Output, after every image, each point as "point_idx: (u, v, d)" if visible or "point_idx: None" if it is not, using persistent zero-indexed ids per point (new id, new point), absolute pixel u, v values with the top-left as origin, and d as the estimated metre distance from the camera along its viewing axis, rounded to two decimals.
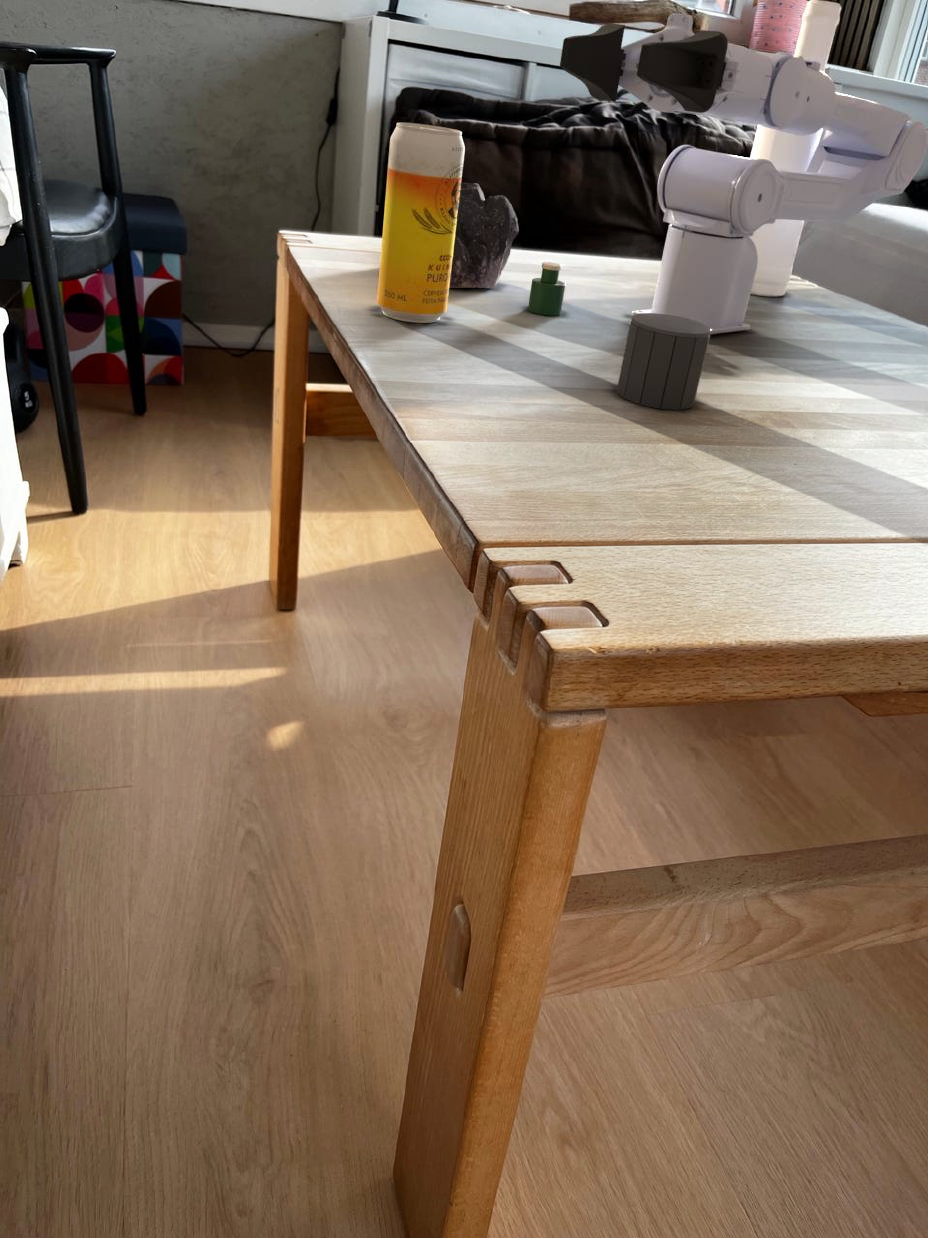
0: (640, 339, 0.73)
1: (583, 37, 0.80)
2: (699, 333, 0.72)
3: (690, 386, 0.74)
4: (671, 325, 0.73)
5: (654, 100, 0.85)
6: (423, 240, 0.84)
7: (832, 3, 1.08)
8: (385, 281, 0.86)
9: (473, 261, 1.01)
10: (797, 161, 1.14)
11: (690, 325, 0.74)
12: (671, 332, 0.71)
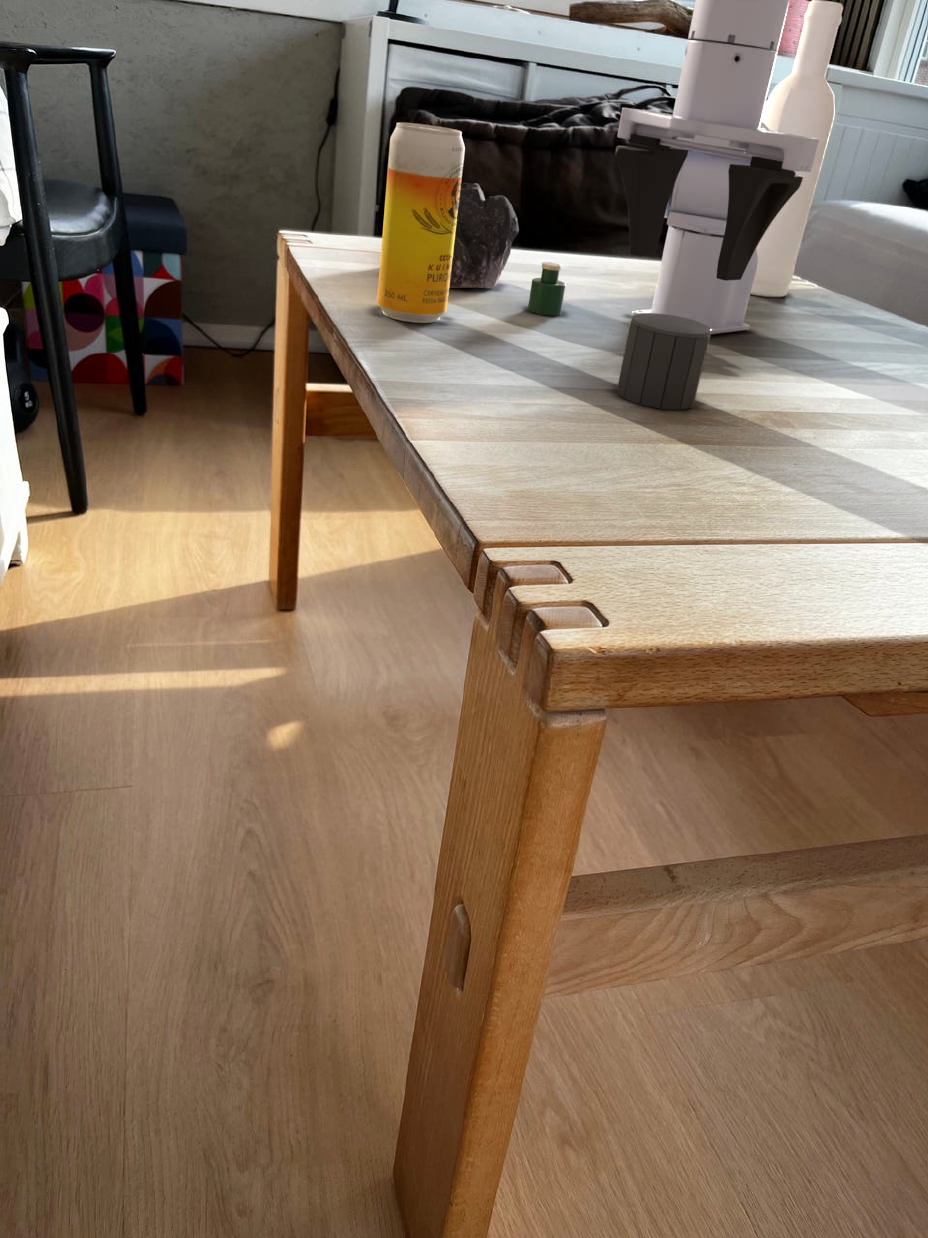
0: (640, 339, 0.73)
1: (638, 233, 0.72)
2: (699, 333, 0.72)
3: (690, 386, 0.74)
4: (671, 325, 0.73)
5: None
6: (423, 240, 0.84)
7: (834, 3, 1.08)
8: (385, 281, 0.86)
9: (473, 261, 1.01)
10: None
11: (690, 325, 0.74)
12: (671, 332, 0.71)
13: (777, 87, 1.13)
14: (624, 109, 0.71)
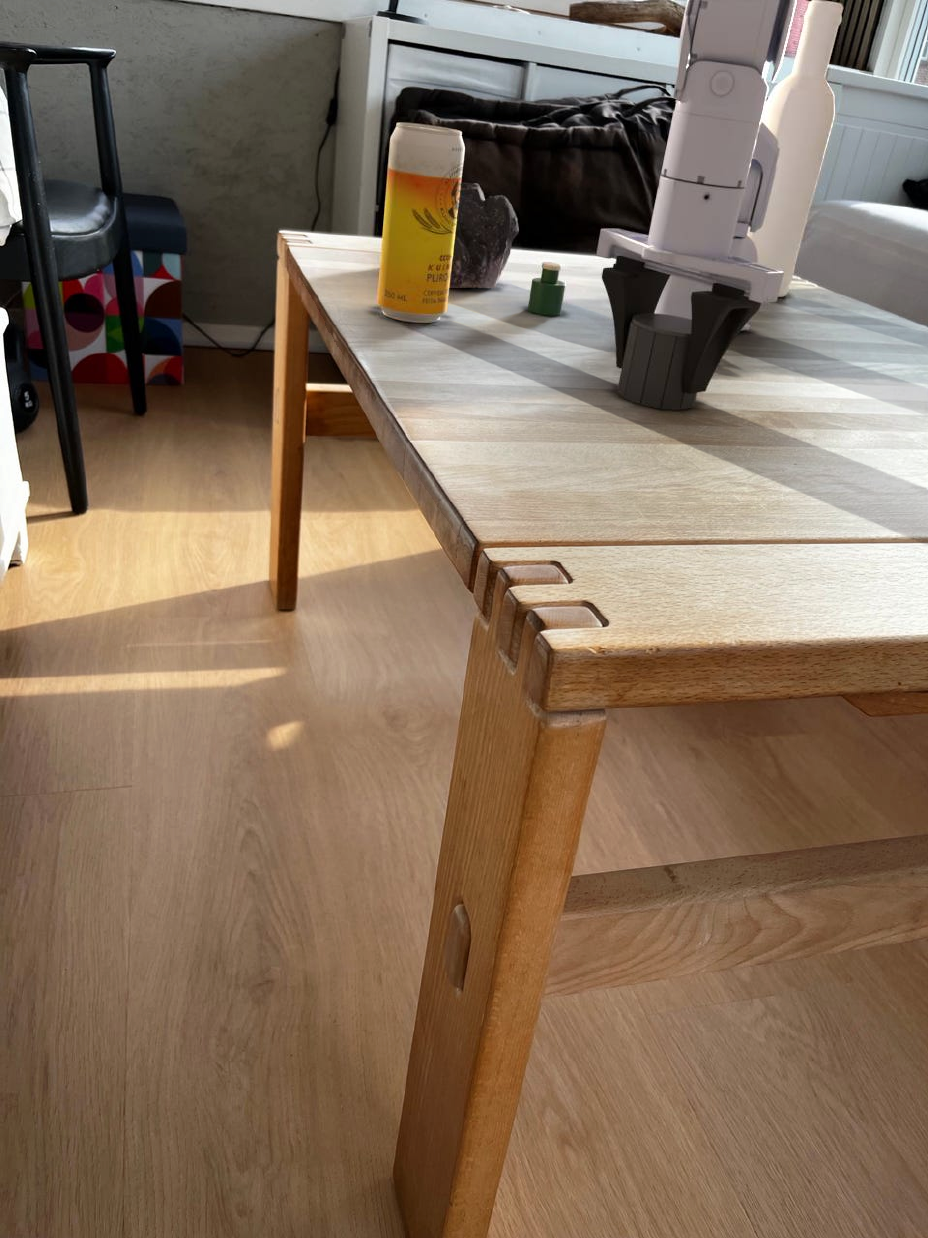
0: (640, 339, 0.73)
1: (624, 348, 0.76)
2: None
3: None
4: (671, 325, 0.73)
5: None
6: (423, 240, 0.84)
7: (834, 3, 1.08)
8: (385, 281, 0.86)
9: (473, 261, 1.01)
10: (798, 161, 1.13)
11: (690, 325, 0.74)
12: (671, 332, 0.71)
13: (777, 87, 1.13)
14: (602, 230, 0.75)
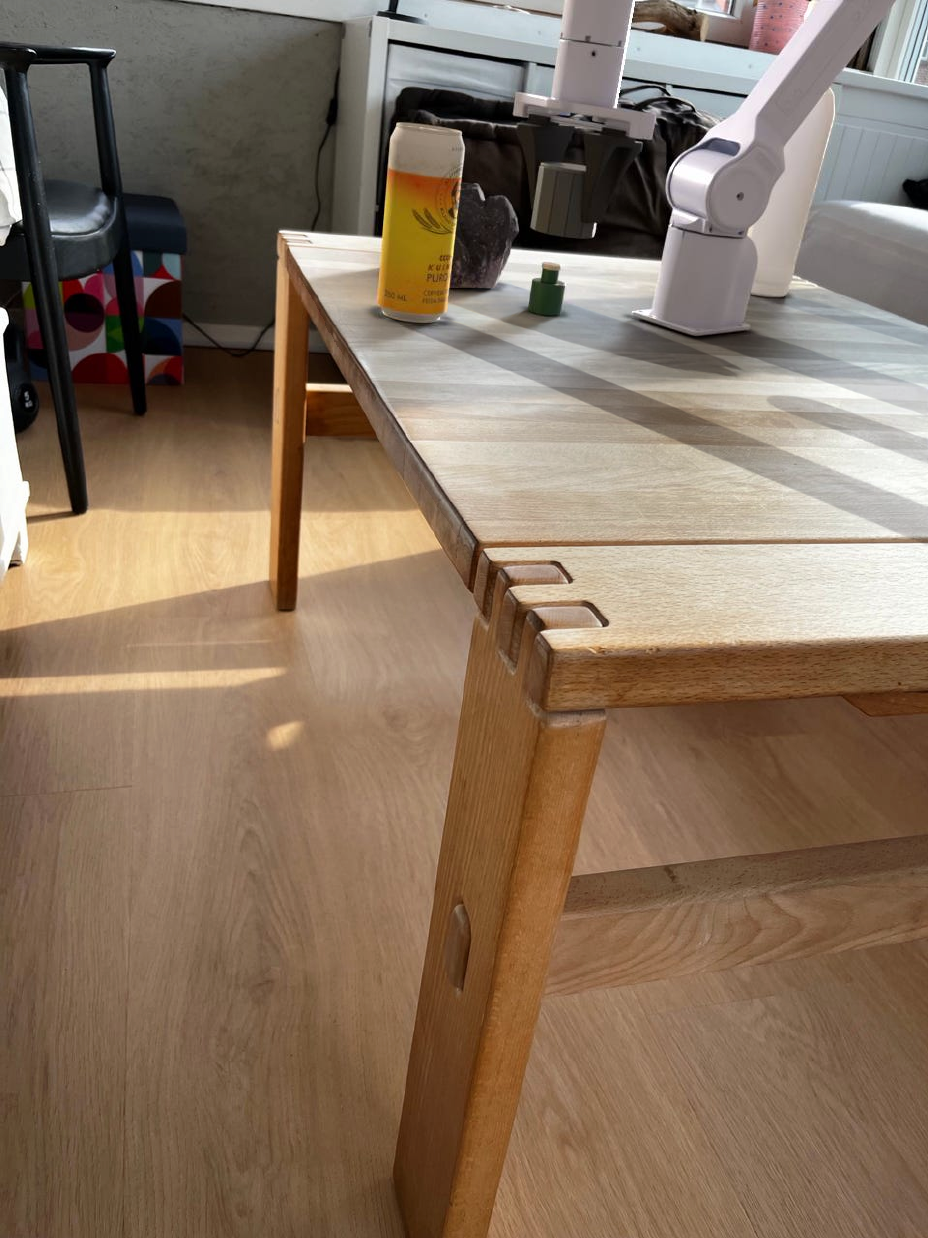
0: (546, 178, 0.89)
1: None
2: None
3: None
4: (572, 167, 0.90)
5: None
6: (423, 240, 0.84)
7: None
8: (385, 281, 0.86)
9: (473, 261, 1.01)
10: (798, 161, 1.13)
11: None
12: (570, 170, 0.88)
13: None
14: (517, 93, 0.92)
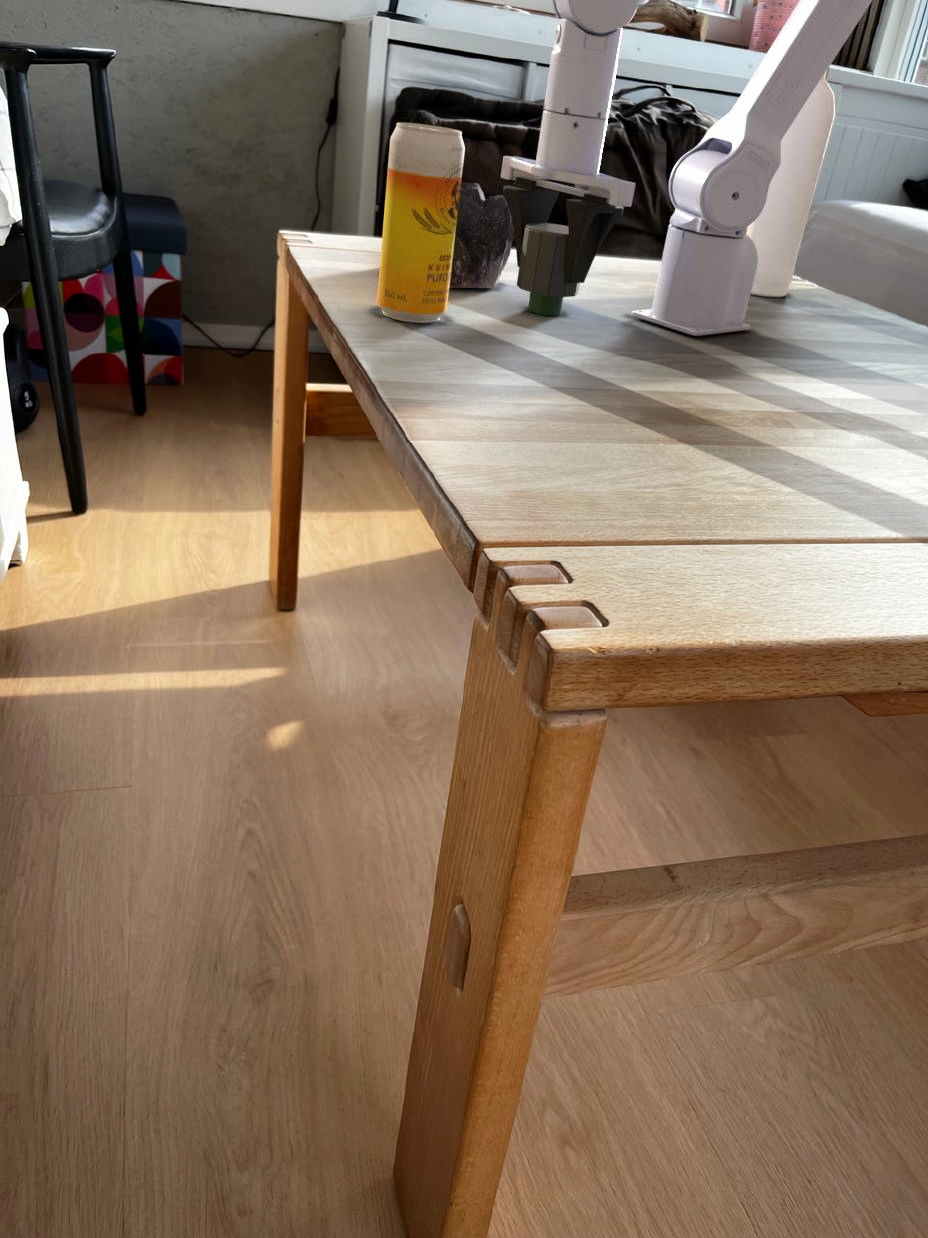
0: (531, 240, 0.93)
1: None
2: None
3: None
4: (555, 229, 0.93)
5: None
6: (423, 240, 0.84)
7: None
8: (385, 281, 0.86)
9: (473, 261, 1.01)
10: (798, 161, 1.13)
11: None
12: (553, 233, 0.92)
13: None
14: (504, 157, 0.95)
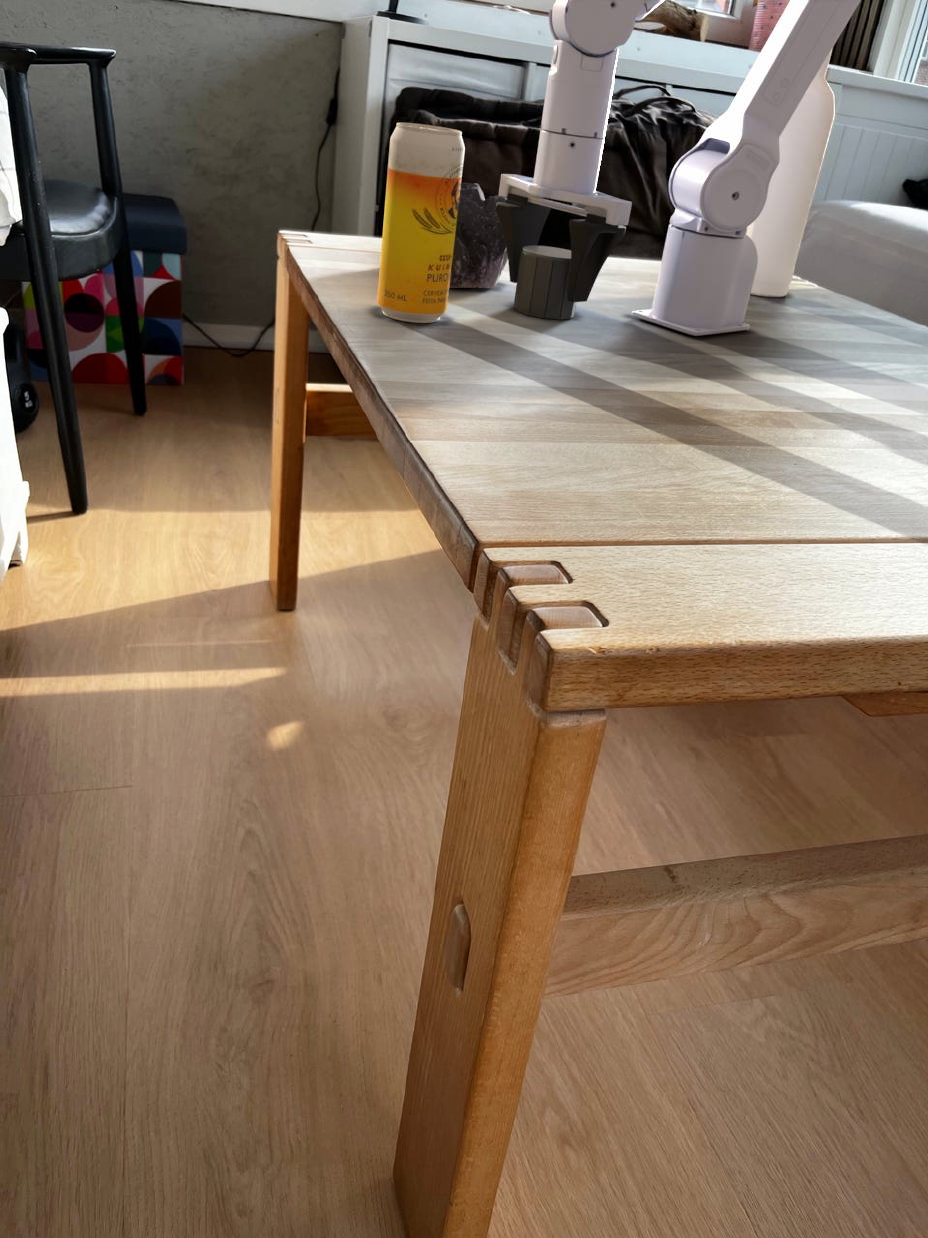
0: (527, 263, 0.94)
1: (514, 266, 0.98)
2: None
3: (567, 300, 0.95)
4: (552, 253, 0.94)
5: None
6: (423, 240, 0.84)
7: None
8: (385, 281, 0.86)
9: (473, 261, 1.01)
10: (798, 161, 1.13)
11: (567, 253, 0.95)
12: (549, 257, 0.93)
13: None
14: (502, 175, 0.96)
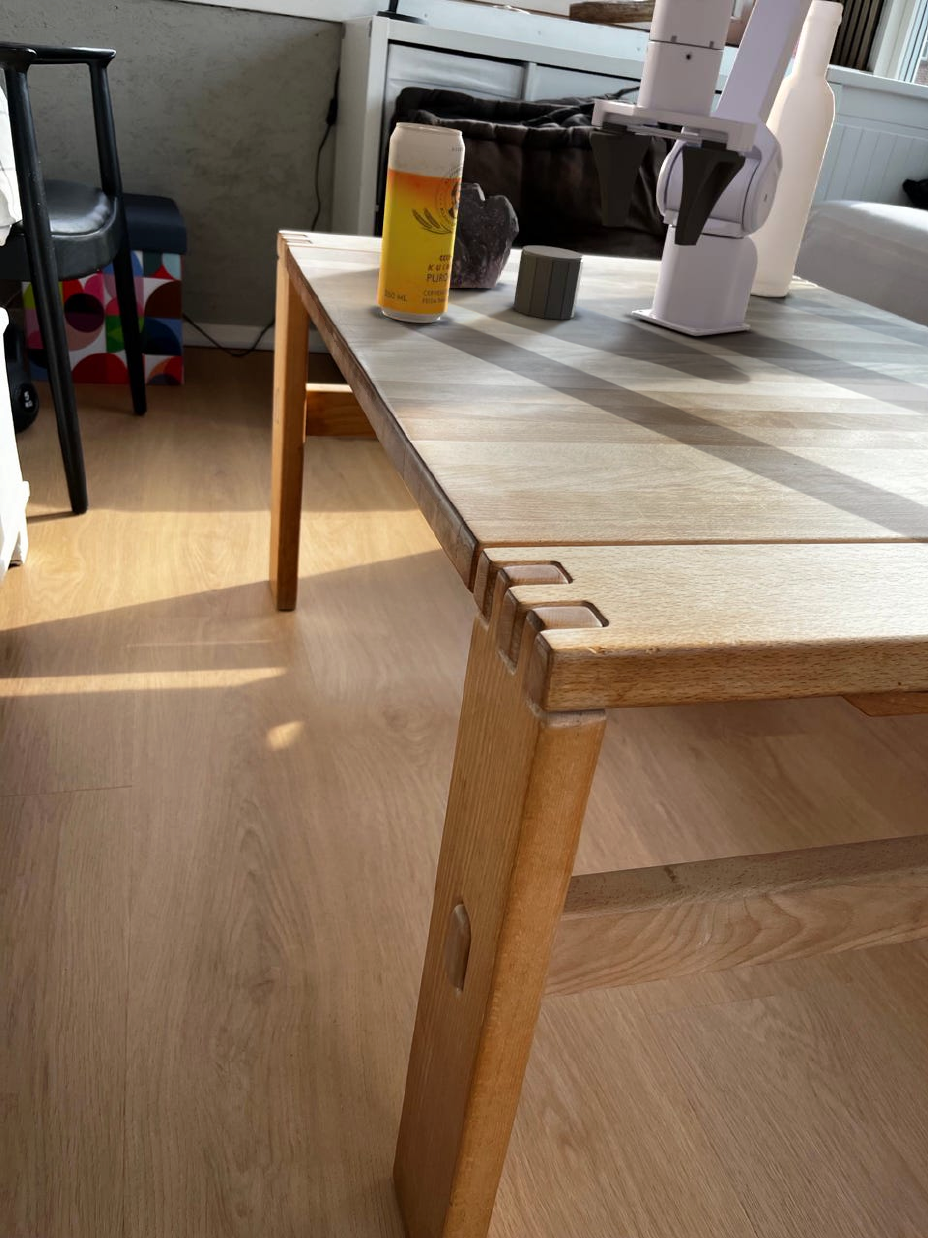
0: (527, 263, 0.94)
1: (609, 206, 0.85)
2: (572, 258, 0.93)
3: (567, 300, 0.95)
4: (552, 253, 0.94)
5: None
6: (423, 240, 0.84)
7: (834, 3, 1.08)
8: (385, 281, 0.86)
9: (473, 261, 1.01)
10: (798, 161, 1.13)
11: (567, 253, 0.95)
12: (549, 257, 0.93)
13: None
14: (597, 100, 0.83)
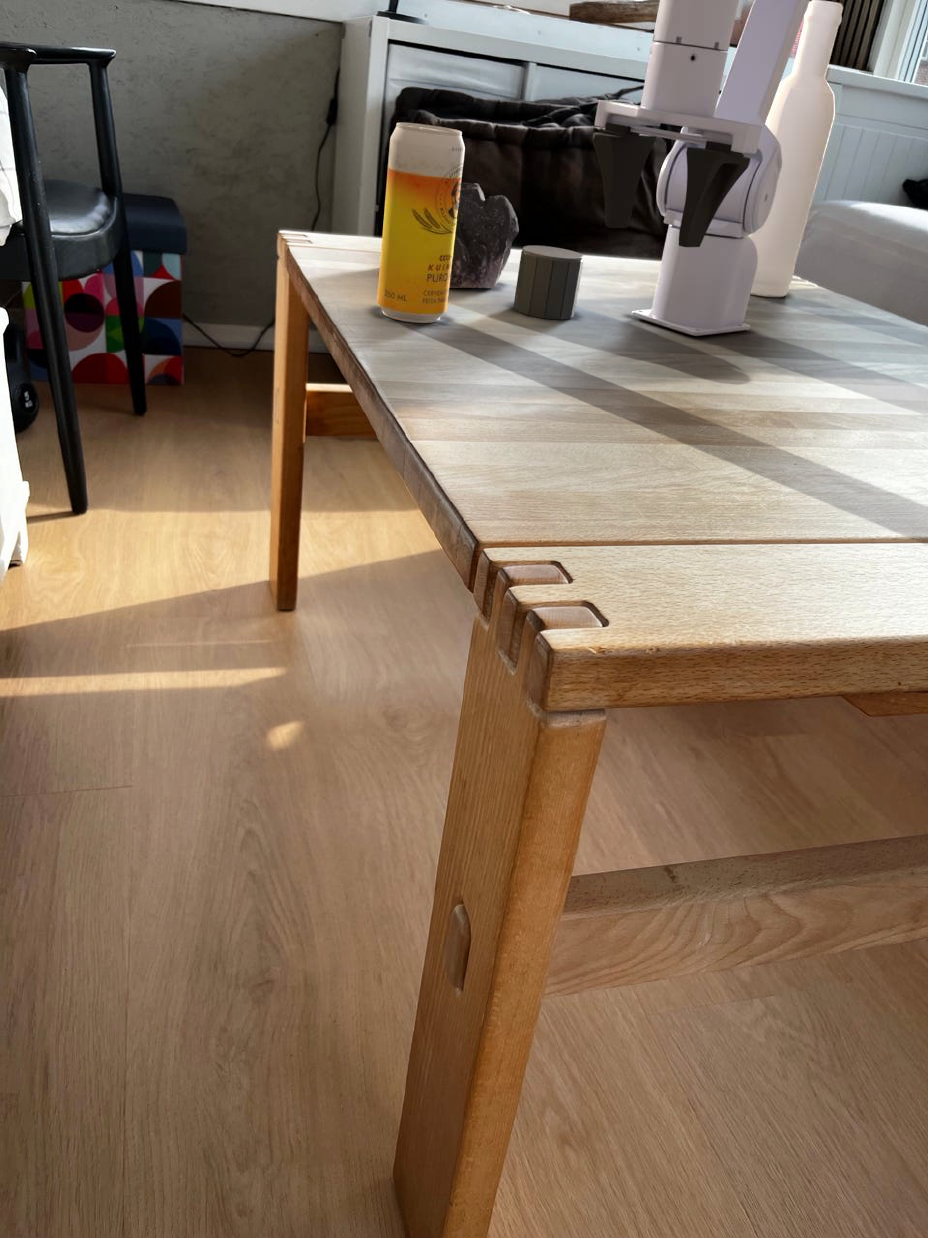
0: (527, 263, 0.94)
1: (612, 208, 0.84)
2: (572, 258, 0.93)
3: (567, 300, 0.95)
4: (552, 253, 0.94)
5: None
6: (423, 240, 0.84)
7: (834, 3, 1.08)
8: (385, 281, 0.86)
9: (473, 261, 1.01)
10: (798, 161, 1.13)
11: (567, 253, 0.95)
12: (549, 257, 0.93)
13: None
14: (600, 101, 0.83)
